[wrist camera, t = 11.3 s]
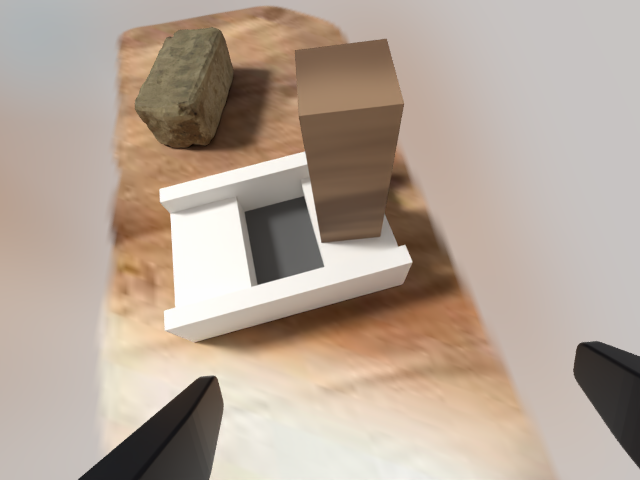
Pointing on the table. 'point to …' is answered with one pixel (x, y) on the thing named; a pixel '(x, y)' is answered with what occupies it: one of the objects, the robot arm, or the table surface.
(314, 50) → the walnut block
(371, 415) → the table surface
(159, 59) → the stone block
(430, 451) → the table surface
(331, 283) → the walled channel
